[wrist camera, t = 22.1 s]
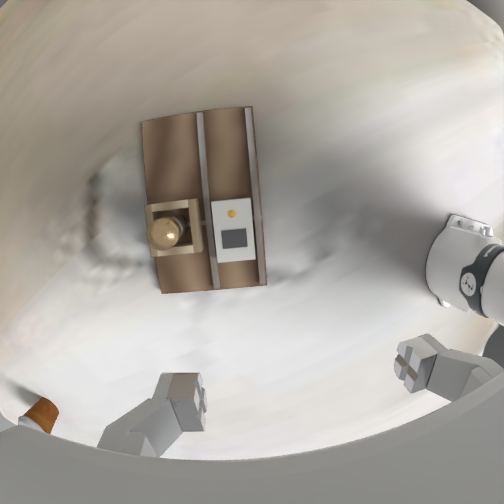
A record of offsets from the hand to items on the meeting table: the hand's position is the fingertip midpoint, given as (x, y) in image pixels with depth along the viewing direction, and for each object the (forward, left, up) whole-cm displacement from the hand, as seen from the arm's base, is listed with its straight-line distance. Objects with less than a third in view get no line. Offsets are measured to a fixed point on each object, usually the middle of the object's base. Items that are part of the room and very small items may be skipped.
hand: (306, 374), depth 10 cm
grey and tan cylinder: (+11, -3, -30) cm, 32 cm away
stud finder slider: (+3, -2, -29) cm, 29 cm away
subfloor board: (+7, -6, -31) cm, 32 cm away
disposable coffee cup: (+58, +39, -31) cm, 77 cm away
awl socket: (+11, -3, -30) cm, 32 cm away
